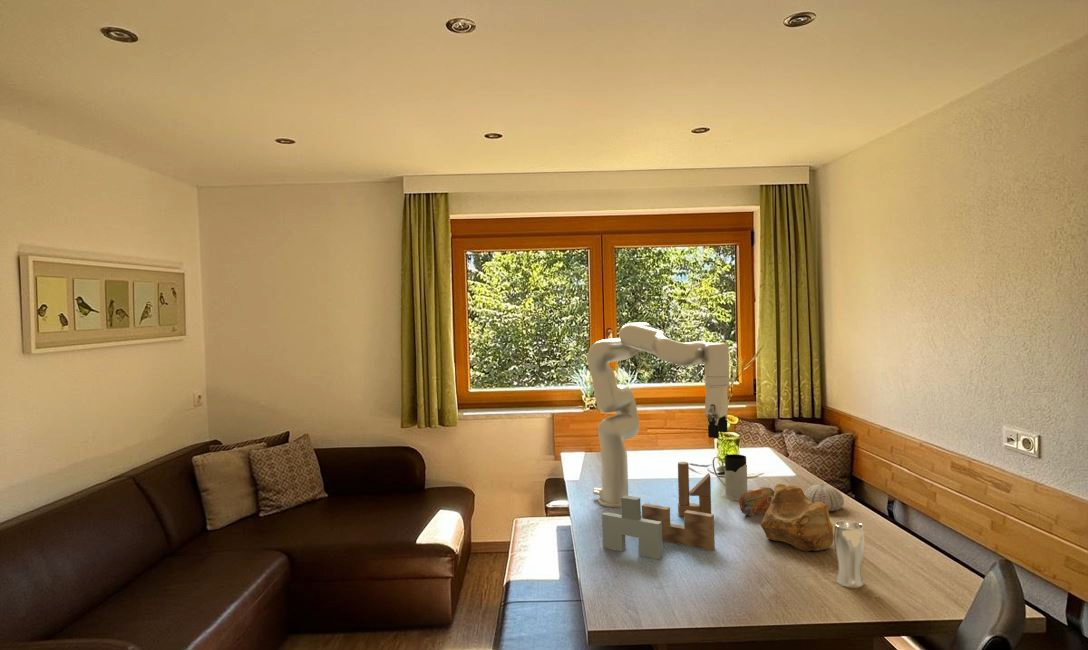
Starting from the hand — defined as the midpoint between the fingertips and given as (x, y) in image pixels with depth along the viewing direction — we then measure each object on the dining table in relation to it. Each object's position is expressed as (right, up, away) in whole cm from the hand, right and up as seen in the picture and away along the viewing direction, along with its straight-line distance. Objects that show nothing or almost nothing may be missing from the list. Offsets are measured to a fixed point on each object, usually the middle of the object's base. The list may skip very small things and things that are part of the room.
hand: (718, 434), depth 202 cm
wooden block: (-4, -30, +13) cm, 33 cm away
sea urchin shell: (+41, -29, +17) cm, 53 cm away
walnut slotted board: (-15, -31, -11) cm, 36 cm away
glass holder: (+14, -29, +34) cm, 46 cm away
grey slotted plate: (-30, -32, -17) cm, 46 cm away
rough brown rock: (+18, -30, -12) cm, 37 cm away
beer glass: (+22, -31, -41) cm, 56 cm away
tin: (+17, -29, +14) cm, 37 cm away
